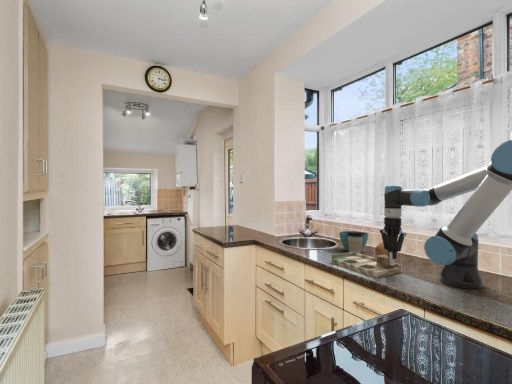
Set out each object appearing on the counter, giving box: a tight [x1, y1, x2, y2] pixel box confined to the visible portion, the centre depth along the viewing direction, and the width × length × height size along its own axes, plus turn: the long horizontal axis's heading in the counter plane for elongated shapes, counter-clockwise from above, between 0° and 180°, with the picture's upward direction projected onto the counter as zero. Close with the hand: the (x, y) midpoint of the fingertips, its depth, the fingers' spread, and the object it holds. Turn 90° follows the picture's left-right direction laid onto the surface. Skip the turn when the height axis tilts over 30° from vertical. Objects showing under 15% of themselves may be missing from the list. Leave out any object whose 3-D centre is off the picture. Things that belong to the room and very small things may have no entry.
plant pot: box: [338, 230, 369, 253], centre depth 182 cm, size 18×18×12 cm
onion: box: [375, 242, 388, 257], centre depth 160 cm, size 10×10×10 cm
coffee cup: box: [347, 230, 363, 254], centre depth 167 cm, size 9×9×15 cm
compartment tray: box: [331, 251, 402, 279], centre depth 144 cm, size 29×18×4 cm, turn 29°
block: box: [376, 255, 395, 269], centre depth 137 cm, size 6×6×5 cm
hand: (392, 265), depth 134 cm, fingers closed
